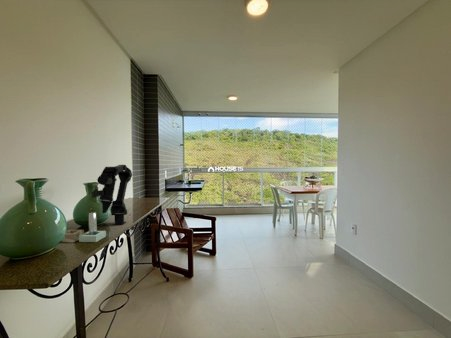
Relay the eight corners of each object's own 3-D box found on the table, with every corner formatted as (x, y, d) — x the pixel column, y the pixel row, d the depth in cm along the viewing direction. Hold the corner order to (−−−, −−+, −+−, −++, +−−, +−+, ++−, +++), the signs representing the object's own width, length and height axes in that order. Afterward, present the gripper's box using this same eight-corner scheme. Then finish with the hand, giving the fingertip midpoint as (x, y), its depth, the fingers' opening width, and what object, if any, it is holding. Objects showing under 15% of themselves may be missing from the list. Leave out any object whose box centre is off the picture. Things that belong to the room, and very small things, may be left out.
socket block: (90, 236, 123) (90, 230, 123) (105, 236, 123) (105, 230, 123) (78, 241, 114) (78, 236, 114) (96, 242, 114) (95, 236, 114)
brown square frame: (69, 236, 122) (69, 229, 122) (83, 236, 122) (83, 229, 122) (58, 242, 114) (58, 234, 114) (73, 242, 114) (73, 234, 114)
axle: (91, 237, 121) (91, 212, 120) (98, 237, 120) (98, 212, 120) (87, 240, 117) (87, 213, 117) (94, 240, 117) (93, 213, 116)
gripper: (95, 186, 139) (90, 211, 135) (92, 183, 122) (86, 212, 119) (115, 188, 143) (110, 213, 140) (114, 186, 126) (109, 213, 123)
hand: (104, 213), depth 130 cm, fingers open, 9 cm apart
